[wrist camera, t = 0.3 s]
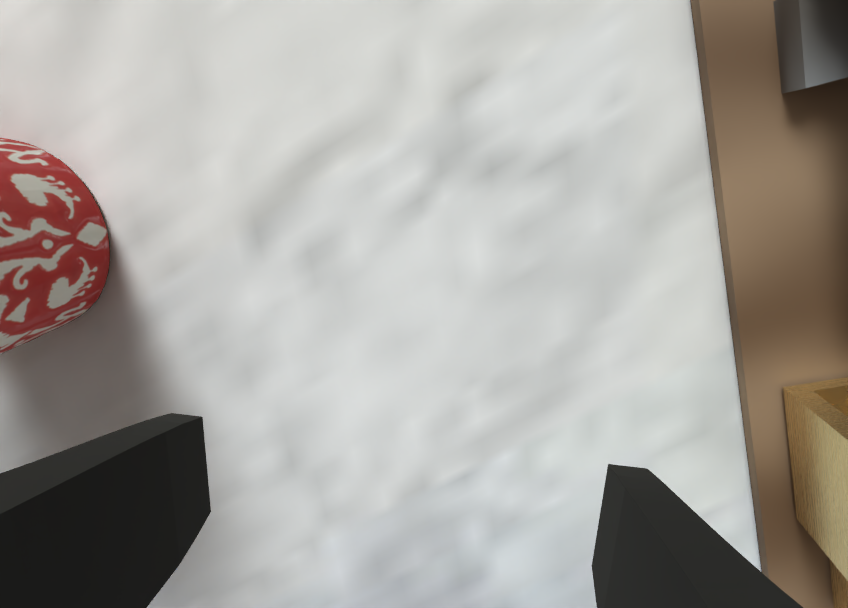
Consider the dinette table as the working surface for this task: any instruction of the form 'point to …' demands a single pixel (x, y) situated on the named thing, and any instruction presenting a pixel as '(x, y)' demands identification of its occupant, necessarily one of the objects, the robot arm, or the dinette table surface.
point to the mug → (46, 244)
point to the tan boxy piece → (822, 470)
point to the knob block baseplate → (780, 235)
